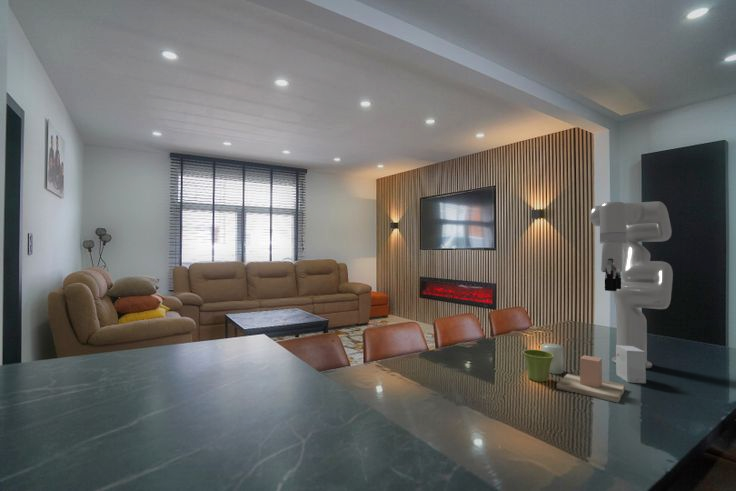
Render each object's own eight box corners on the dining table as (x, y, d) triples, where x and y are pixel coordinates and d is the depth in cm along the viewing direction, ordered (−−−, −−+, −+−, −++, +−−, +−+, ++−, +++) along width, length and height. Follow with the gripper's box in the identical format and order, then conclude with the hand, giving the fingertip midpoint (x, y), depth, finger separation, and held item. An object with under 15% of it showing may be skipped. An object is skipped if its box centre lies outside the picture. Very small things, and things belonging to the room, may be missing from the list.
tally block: (583, 380, 118) (583, 355, 118) (601, 383, 114) (601, 358, 114) (580, 384, 114) (580, 358, 114) (598, 388, 111) (598, 361, 111)
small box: (646, 384, 119) (646, 351, 119) (627, 382, 120) (626, 350, 120) (633, 376, 127) (633, 345, 127) (615, 374, 128) (615, 344, 128)
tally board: (568, 377, 124) (568, 373, 124) (625, 389, 114) (625, 384, 114) (556, 388, 114) (556, 383, 114) (618, 402, 103) (618, 397, 103)
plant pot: (553, 377, 125) (553, 351, 125) (554, 386, 116) (554, 358, 116) (523, 373, 129) (523, 348, 129) (522, 381, 120) (522, 354, 120)
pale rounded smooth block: (545, 366, 136) (545, 342, 137) (565, 370, 132) (565, 345, 132) (539, 371, 131) (539, 345, 131) (560, 375, 126) (560, 349, 127)
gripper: (604, 240, 132) (604, 287, 131) (594, 238, 119) (595, 290, 118) (629, 239, 127) (630, 289, 126) (622, 237, 114) (622, 292, 113)
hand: (613, 289), depth 122 cm, fingers open, 9 cm apart
